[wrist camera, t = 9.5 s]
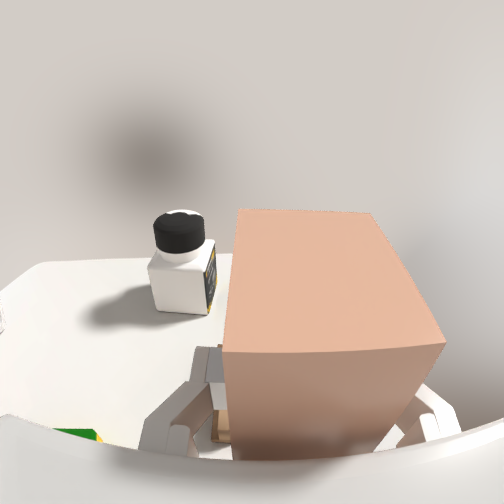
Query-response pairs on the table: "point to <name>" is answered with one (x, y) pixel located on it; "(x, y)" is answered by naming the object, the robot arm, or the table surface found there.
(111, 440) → the table surface
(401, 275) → the clay block
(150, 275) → the medicine bottle
